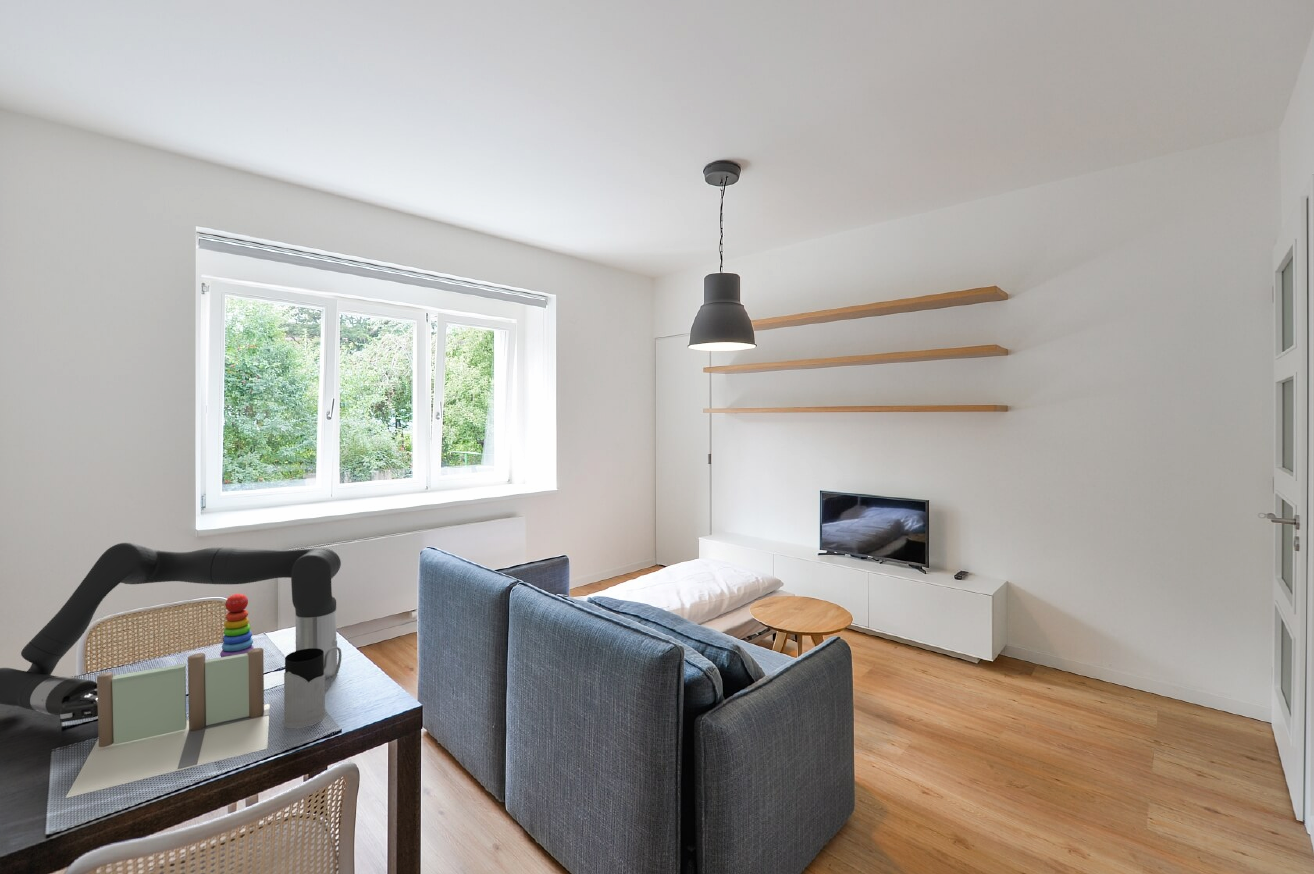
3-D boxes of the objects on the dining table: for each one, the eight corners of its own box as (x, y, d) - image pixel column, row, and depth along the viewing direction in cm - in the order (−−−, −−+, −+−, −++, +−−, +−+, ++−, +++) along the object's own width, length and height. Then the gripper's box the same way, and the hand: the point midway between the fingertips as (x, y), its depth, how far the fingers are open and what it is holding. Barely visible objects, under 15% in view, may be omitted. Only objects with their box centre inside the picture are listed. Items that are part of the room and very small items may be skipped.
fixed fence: (264, 710, 135) (263, 642, 134) (263, 716, 132) (263, 647, 131) (190, 726, 127) (188, 654, 127) (188, 732, 125) (186, 660, 124)
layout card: (269, 705, 138) (269, 703, 138) (267, 750, 120) (267, 747, 120) (97, 741, 122) (97, 739, 122) (65, 799, 104) (65, 797, 104)
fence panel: (186, 724, 127) (185, 659, 126) (185, 730, 125) (184, 663, 124) (100, 743, 119) (98, 673, 119) (97, 749, 117) (95, 678, 117)
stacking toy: (262, 658, 162) (261, 592, 162) (233, 670, 155) (232, 601, 154) (242, 653, 165) (241, 588, 164) (212, 665, 158) (211, 597, 157)
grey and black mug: (272, 725, 129) (271, 659, 128) (326, 695, 143) (326, 636, 142) (302, 733, 127) (302, 666, 126) (355, 702, 140) (354, 641, 139)
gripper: (26, 694, 119) (90, 705, 116) (100, 666, 132) (160, 675, 129) (27, 729, 120) (91, 742, 116) (101, 698, 133) (161, 708, 129)
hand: (127, 707), depth 122 cm, fingers closed
